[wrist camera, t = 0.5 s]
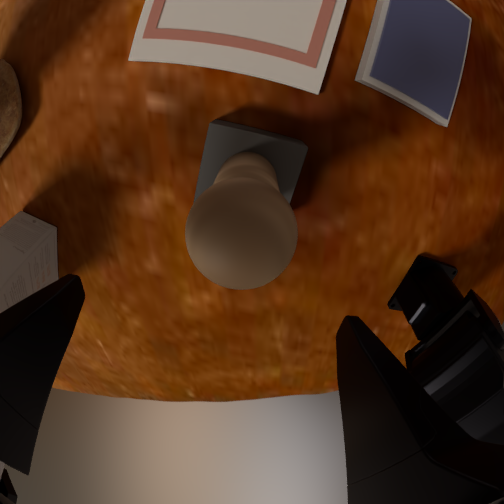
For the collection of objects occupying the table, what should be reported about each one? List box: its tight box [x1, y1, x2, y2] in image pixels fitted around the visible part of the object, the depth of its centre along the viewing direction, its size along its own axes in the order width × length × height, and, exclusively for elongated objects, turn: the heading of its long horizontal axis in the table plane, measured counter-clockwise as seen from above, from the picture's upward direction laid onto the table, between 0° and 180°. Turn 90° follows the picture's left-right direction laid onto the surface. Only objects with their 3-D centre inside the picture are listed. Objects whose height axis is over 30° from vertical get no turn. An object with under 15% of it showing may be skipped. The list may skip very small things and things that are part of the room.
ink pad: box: [355, 0, 472, 127], centre depth 12 cm, size 8×11×2 cm
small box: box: [0, 211, 59, 313], centre depth 18 cm, size 8×6×10 cm
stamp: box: [185, 119, 308, 290], centre depth 14 cm, size 6×6×12 cm
